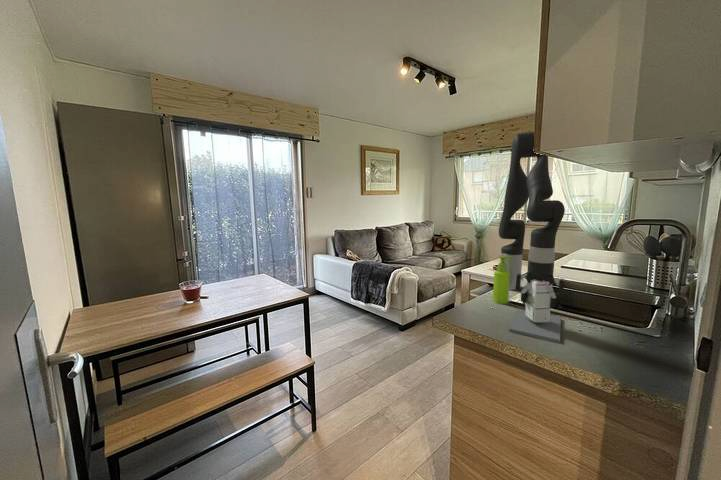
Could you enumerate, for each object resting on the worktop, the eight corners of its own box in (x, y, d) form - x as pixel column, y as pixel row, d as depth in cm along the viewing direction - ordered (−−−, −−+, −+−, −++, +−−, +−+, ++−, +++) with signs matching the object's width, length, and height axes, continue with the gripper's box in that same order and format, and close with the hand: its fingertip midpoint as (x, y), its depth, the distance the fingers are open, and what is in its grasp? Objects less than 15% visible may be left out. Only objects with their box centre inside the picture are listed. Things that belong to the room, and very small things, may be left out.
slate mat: (517, 311, 112) (517, 308, 112) (560, 319, 104) (560, 316, 104) (509, 331, 96) (509, 328, 96) (559, 343, 88) (560, 340, 88)
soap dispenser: (513, 303, 120) (516, 257, 117) (496, 304, 120) (498, 257, 117) (506, 298, 126) (509, 254, 122) (490, 298, 126) (492, 254, 123)
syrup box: (550, 322, 97) (553, 281, 95) (532, 322, 98) (536, 282, 95) (540, 315, 103) (543, 276, 101) (523, 315, 103) (526, 277, 101)
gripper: (566, 259, 96) (562, 306, 98) (518, 255, 104) (515, 298, 106) (567, 264, 90) (562, 313, 92) (515, 259, 98) (512, 304, 100)
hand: (537, 305), depth 99 cm, fingers closed on syrup box, 7 cm apart
